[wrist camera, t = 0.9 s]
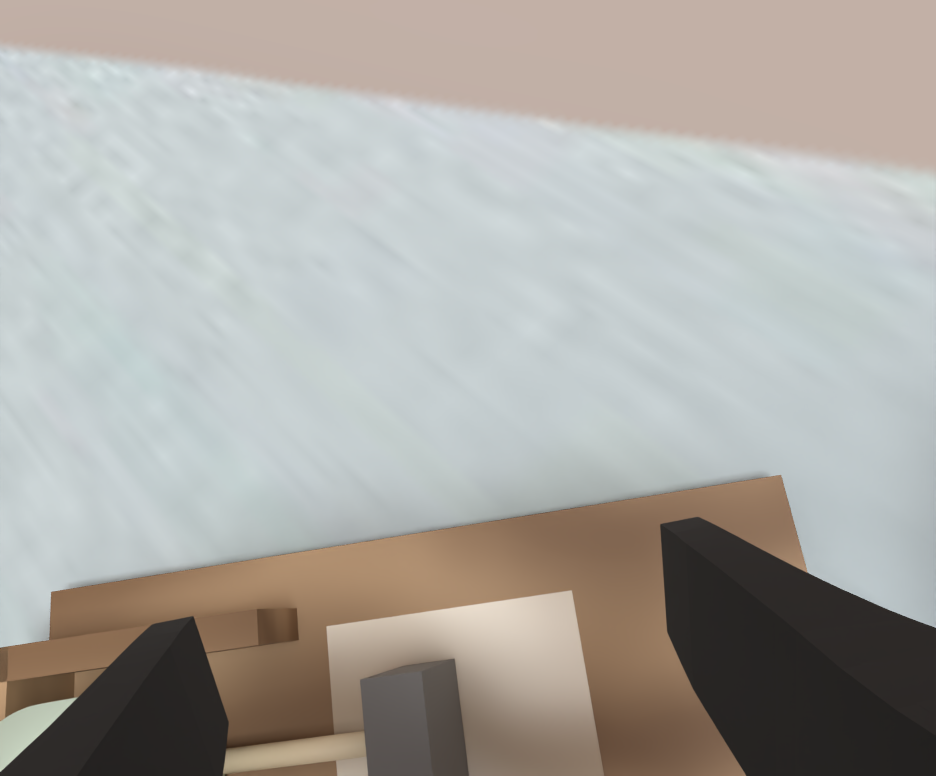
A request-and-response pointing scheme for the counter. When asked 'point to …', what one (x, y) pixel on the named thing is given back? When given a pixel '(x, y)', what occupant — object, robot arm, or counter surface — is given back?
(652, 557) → the shelf lane
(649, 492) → the counter surface
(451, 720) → the grey-headed mallet
